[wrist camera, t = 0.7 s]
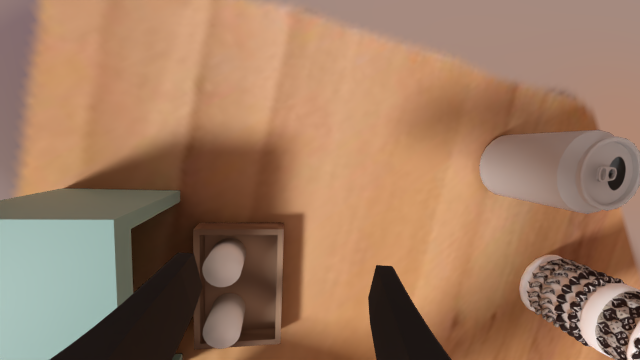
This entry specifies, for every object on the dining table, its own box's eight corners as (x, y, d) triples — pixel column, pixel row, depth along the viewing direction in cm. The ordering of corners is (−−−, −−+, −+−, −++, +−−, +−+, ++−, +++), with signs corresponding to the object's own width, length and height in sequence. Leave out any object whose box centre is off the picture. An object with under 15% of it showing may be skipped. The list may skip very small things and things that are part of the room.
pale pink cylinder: (246, 268, 31) (241, 286, 27) (212, 269, 30) (202, 287, 26) (246, 237, 30) (241, 250, 26) (212, 237, 30) (202, 251, 26)
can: (524, 194, 36) (646, 217, 24) (471, 194, 34) (572, 219, 23) (530, 135, 35) (659, 129, 23) (476, 134, 34) (583, 127, 22)
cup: (245, 322, 31) (240, 347, 27) (212, 324, 31) (202, 349, 27) (245, 292, 31) (240, 313, 27) (212, 293, 30) (202, 315, 27)
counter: (182, 363, 31) (125, 492, 20) (74, 370, 30) (-59, 517, 18) (180, 190, 29) (113, 219, 17) (63, 188, 28) (-98, 219, 16)
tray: (280, 329, 33) (280, 343, 30) (200, 333, 31) (194, 349, 29) (283, 222, 31) (283, 229, 29) (200, 222, 30) (193, 229, 27)
